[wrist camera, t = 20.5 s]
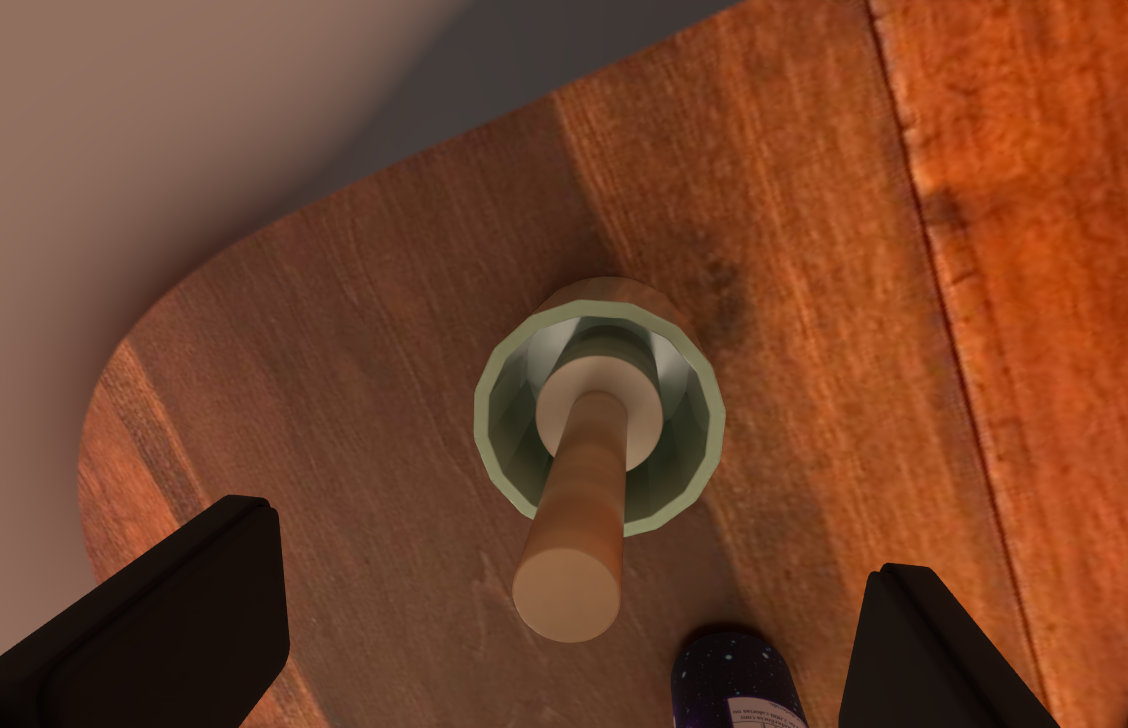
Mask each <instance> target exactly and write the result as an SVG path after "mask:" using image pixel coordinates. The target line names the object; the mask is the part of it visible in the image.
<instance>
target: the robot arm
mask: <svg viewBox="0 0 1128 728" xmlns="http://www.w3.org/2000/svg"><path fill="white" fill-rule="evenodd" d="M289 650H290V640H289V628H288V617H287V605H286V594H285V582H284V571H283V559H282V548H281V536H280V525H279V516H278V512H277V511H276V509H274V508H271V507H270V504H269V502H268V500H266V499H265V498H260V497H251V496H241V495H227V496H225V497H223V498H221V499H220V500H219V501H217V502H216V503H214V504H213V505H212V506H210V507H209V508H207V509H206V510H205V511H203V512H202V513H200V514H199V515H197V516H196V517H195V518H193V519H192V520H190V521H189V522H188V523H186V524H185V525H183V526H182V527H181V528H179V529H178V530H176V531H175V532H174V533H172V534H171V535H169V536H168V537H167V538H165V539H164V540H162V541H161V542H160V543H158V544H157V545H155V546H154V547H153V548H151V549H150V550H148V551H147V552H146V553H144V554H143V555H141V556H140V557H138V558H137V559H136V560H134V561H133V562H131V563H130V564H129V565H127V566H126V567H124V568H123V569H122V570H120V571H119V572H117V573H116V574H115V575H113V576H112V577H110V578H109V579H108V580H106V581H105V582H103V583H102V584H101V585H99V586H98V587H96V588H95V589H94V590H92V591H91V592H90V593H88V594H87V595H85V596H84V597H82V598H81V599H80V600H78V601H77V602H75V603H74V604H73V605H71V606H70V607H68V608H67V609H66V610H64V611H63V612H61V613H60V614H59V615H57V616H56V617H54V618H53V619H51V620H50V621H49V622H47V623H46V624H44V625H43V626H42V627H40V628H39V629H37V630H36V631H35V632H33V633H32V634H30V635H29V636H27V637H26V638H25V639H23V640H22V641H20V642H19V643H18V644H16V645H15V646H13V647H12V648H11V649H10V650H8V651H6V652H5V653H4V654H2V655H1V656H0V728H239V726H240V725H241V724H242V722H243V721H244V720H245V718H246V717H247V716H248V714H249V713H250V712H251V710H252V709H253V708H254V706H255V705H256V704H257V703H258V701H259V700H260V699H261V697H262V696H263V695H264V693H265V692H266V691H267V689H268V688H269V687H270V685H271V684H272V683H273V681H274V680H275V679H276V677H277V676H278V675H279V673H280V672H281V671H282V669H283V668H284V666H285V663H286V661H287V658H288V655H289ZM839 728H1061V727H1060V726H1059V725H1058V724H1057V722H1056V721H1055V720H1054V719H1053V718H1052V716H1051V715H1050V714H1049V713H1048V711H1047V710H1046V709H1045V708H1044V706H1043V705H1042V704H1041V703H1040V702H1039V700H1038V699H1037V698H1036V697H1035V695H1034V694H1033V693H1032V692H1031V690H1030V689H1029V688H1028V687H1027V685H1026V684H1025V683H1024V682H1023V681H1022V679H1021V678H1020V677H1019V676H1018V674H1017V673H1016V672H1015V671H1014V669H1013V668H1012V667H1011V666H1010V665H1009V663H1008V662H1007V661H1006V660H1005V658H1004V657H1003V656H1002V655H1001V653H1000V652H999V651H998V650H997V649H996V647H995V646H994V645H993V644H992V642H991V641H990V640H989V639H988V637H987V636H986V635H985V634H984V633H983V631H982V630H981V629H980V628H979V626H978V625H977V624H976V623H975V621H974V620H973V619H972V618H971V617H970V615H969V614H968V613H967V612H966V610H965V609H964V608H963V607H962V605H961V604H960V603H959V602H958V601H957V599H956V598H955V597H954V596H953V594H952V593H951V592H950V591H949V589H948V588H947V587H946V586H945V585H944V583H943V582H942V581H941V580H940V578H939V577H938V576H937V575H936V573H935V572H934V571H933V570H932V569H930V568H929V567H924V566H915V565H905V564H896V563H886V564H884V565H883V566H882V568H881V570H880V572H877V571H873V572H871V573H870V575H869V576H868V580H867V584H866V588H865V593H864V598H863V603H862V608H861V612H860V617H859V622H858V627H857V631H856V636H855V641H854V646H853V651H852V655H851V660H850V665H849V670H848V675H847V679H846V684H845V689H844V694H843V699H842V703H841V708H840V713H839Z"/></svg>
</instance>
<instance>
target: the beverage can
mask: <svg viewBox="0 0 1128 728" xmlns="http://www.w3.org/2000/svg"><path fill="white" fill-rule="evenodd" d="M671 691H672V704H673V717H674V728H809V727H808V724H807V721H806V718H805V715H804V712H803V709H802V706H801V703H800V700H799V697H798V694H797V691H796V688H795V685H794V682H793V679H792V677H791V674H790V671H789V668H788V666H787V664H786V662H785V660H784V659H783V657H782V656H781V655H780V654H779V653H778V651H777V650H775V649H774V648H773V647H772V646H771V645H769V644H768V643H766V642H765V641H763V640H761V639H759V638H756V637H754V636H751V635H747V634H743V633H736V632H722V633H715V634H711V635H707V636H705V637H702V638H700V639H698V640H696V641H694V642H693V643H691V644H690V645H688V646H687V647H686V648H685V649H684V650H683V651H682V652H681V653H680V655H679V656H678V658H677V659H676V661H675V663H674V666H673V669H672V673H671Z"/></svg>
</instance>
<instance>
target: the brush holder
mask: <svg viewBox="0 0 1128 728" xmlns="http://www.w3.org/2000/svg"><path fill="white" fill-rule="evenodd" d="M598 325H615V326H619V327H623V328H626V329H628V330H630V331H632V332H634V333H635V334H637V335H638V336H639V337H641V338H642V339H643V340H644V341H645V343H646V344H647V345H648V346H649V348H650V350H651V351H652V353H653V356H654V358H655V361H656V365H657V372H658V379H659V386H660V392H661V399H662V406H663V428H662V432H661V435H660V439H659V441H658V443H657V445H656V447H655V448H654V450H653V451H652V453H651V454H650V455H649V456H648V457H647V458H646V459H645V460H644V461H643V462H642V463H641V464H639V465H638V466H636V467H635V468H633V469H631V470H629V471H627V472H626V485H625V513H624V537H627V536H631V535H635V534H639V533H643V532H647V531H650V530H654V529H657V528H659V527H661V526H662V525H664V524H665V523H666V522H668V521H669V520H670V519H672V518H673V517H674V516H676V515H677V514H679V513H680V512H681V511H683V510H684V509H685V508H687V507H688V506H690V505H691V504H692V503H694V502H695V500H697V499H698V497H699V495H700V494H701V492H702V490H703V489H704V487H705V485H706V484H707V482H708V480H709V479H710V477H711V475H712V474H713V472H714V470H715V469H716V467H717V465H718V464H719V462H720V459H721V453H722V445H723V437H724V428H725V420H726V409H725V406H724V403H723V399H722V396H721V393H720V390H719V387H718V383H717V380H716V377H715V374H714V371H713V367H712V365H711V363H710V361H709V359H708V357H707V355H706V354H705V352H704V350H703V348H702V346H701V344H700V342H699V340H698V338H697V336H696V334H695V332H694V330H693V328H692V326H691V325H690V323H689V322H688V321H687V319H686V318H685V317H684V316H683V315H682V313H681V312H680V311H679V309H678V308H677V307H676V306H675V305H674V304H673V303H672V302H671V301H670V300H669V299H668V297H667V296H665V295H664V294H662V293H660V292H659V291H657V290H655V289H653V288H652V287H650V286H648V285H646V284H643V283H641V282H638V281H635V280H632V279H627V278H622V277H614V276H607V277H592V278H588V279H584V280H581V281H577V282H575V283H573V284H570V285H568V286H566V287H563V288H560V289H559V290H557V291H556V292H555V293H554V294H553V295H552V296H550V297H549V298H548V299H547V300H546V301H545V302H544V303H543V304H542V305H540V306H539V307H538V308H537V309H536V310H535V311H534V312H533V313H532V314H531V315H529V316H528V317H527V318H526V319H525V320H524V321H523V322H522V323H521V324H520V325H519V326H518V327H516V328H515V329H514V330H513V331H512V332H511V333H510V334H509V335H508V336H507V337H506V338H505V339H503V340H502V341H501V342H500V343H499V344H498V345H497V346H496V347H495V349H494V350H493V351H492V353H491V356H490V358H489V360H488V362H487V364H486V367H485V369H484V371H483V373H482V376H481V378H480V380H479V382H478V384H477V387H476V389H475V393H474V437H475V438H474V440H475V442H476V445H477V447H478V450H479V452H480V455H481V457H482V460H483V462H484V465H485V467H486V470H487V472H488V475H489V477H490V479H491V480H492V482H493V483H494V485H495V486H496V487H497V488H498V489H499V490H500V491H501V492H502V493H503V494H504V495H505V496H506V497H507V498H508V499H509V500H510V502H511V503H512V504H513V505H514V506H515V507H516V508H517V509H518V510H519V511H520V512H521V513H522V514H524V515H525V516H527V517H529V518H531V519H533V520H534V517H535V514H536V511H537V508H538V505H539V502H540V499H541V496H542V493H543V490H544V487H545V484H546V481H547V478H548V475H549V472H550V469H551V466H552V463H553V460H554V457H553V456H552V455H551V454H550V453H549V451H548V450H547V449H546V447H545V446H544V444H543V442H542V440H541V438H540V436H539V433H538V430H537V425H536V415H535V411H536V403H537V399H538V396H539V393H540V391H541V389H542V387H543V385H544V383H545V381H546V379H547V378H548V376H549V374H550V372H551V370H552V368H553V367H554V365H555V363H556V361H557V359H558V358H559V356H560V354H561V352H562V350H563V349H564V347H565V346H566V344H567V343H568V342H569V341H570V340H571V339H572V338H573V337H574V336H575V335H576V334H578V333H579V332H581V331H583V330H585V329H587V328H590V327H593V326H598Z"/></svg>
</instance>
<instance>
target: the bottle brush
mask: <svg viewBox="0 0 1128 728" xmlns="http://www.w3.org/2000/svg"><path fill="white" fill-rule="evenodd" d="M535 415H536V425H537V430H538V433H539V436H540V438H541V440H542V442H543V444H544V446H545V447H546V449H547V450H548V451H549V453H550V454H551V455H552V456H553V457H554V460H553V463H552V466H551V469H550V472H549V475H548V478H547V481H546V484H545V487H544V490H543V493H542V496H541V499H540V502H539V505H538V508H537V511H536V514H535V517H534V520H533V523H532V526H531V528H530V531H529V534H528V537H527V540H526V543H525V546H524V549H523V552H522V555H521V558H520V561H519V564H518V567H517V570H516V573H515V576H514V580H513V586H512V595H513V600H514V603H515V606H516V609H517V611H518V613H519V615H520V616H521V618H522V619H523V620H524V622H525V623H526V624H527V625H528V626H529V627H530V628H531V629H533V630H534V631H535V632H537V633H538V634H540V635H542V636H544V637H546V638H548V639H551V640H555V641H559V642H566V643H575V642H583V641H587V640H590V639H592V638H595V637H597V636H598V635H600V634H602V633H603V632H604V631H605V630H607V629H608V628H609V627H610V626H611V624H612V623H613V622H614V620H615V619H616V617H617V615H618V613H619V610H620V606H621V596H622V568H623V540H624V513H625V485H626V472H627V471H629V470H631V469H633V468H635V467H636V466H638V465H639V464H641V463H642V462H643V461H644V460H645V459H646V458H647V457H648V456H649V455H650V454H651V453H652V451H653V450H654V448H655V447H656V445H657V443H658V441H659V439H660V435H661V432H662V428H663V406H662V399H661V392H660V386H659V379H658V372H657V365H656V361H655V358H654V356H653V353H652V351H651V350H650V348H649V346H648V345H647V344H646V343H645V341H644V340H643V339H642V338H641V337H639V336H638V335H637V334H635V333H634V332H632V331H630V330H628V329H626V328H623V327H619V326H615V325H598V326H593V327H590V328H587V329H585V330H583V331H581V332H579V333H578V334H576V335H575V336H574V337H573V338H572V339H571V340H570V341H569V342H568V343H567V344H566V346H565V347H564V349H563V350H562V352H561V354H560V356H559V358H558V359H557V361H556V363H555V365H554V367H553V368H552V370H551V372H550V374H549V376H548V378H547V379H546V381H545V383H544V385H543V387H542V389H541V391H540V393H539V396H538V399H537V403H536V411H535Z"/></svg>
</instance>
